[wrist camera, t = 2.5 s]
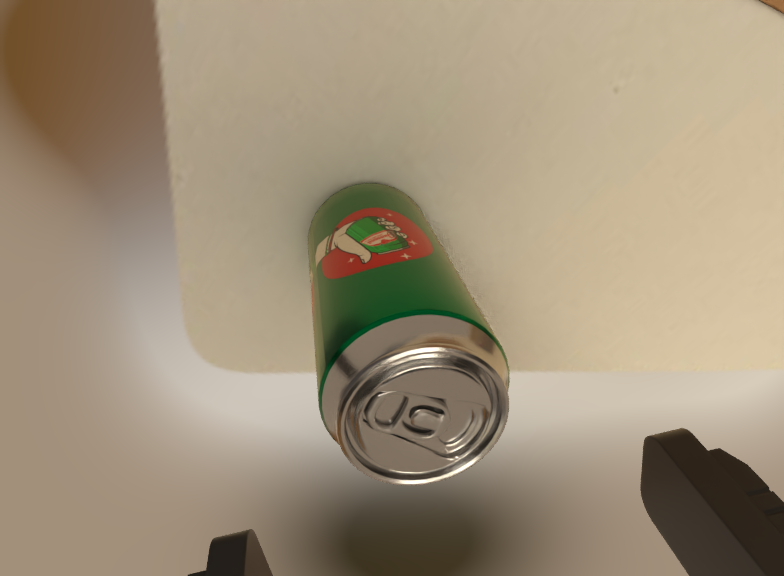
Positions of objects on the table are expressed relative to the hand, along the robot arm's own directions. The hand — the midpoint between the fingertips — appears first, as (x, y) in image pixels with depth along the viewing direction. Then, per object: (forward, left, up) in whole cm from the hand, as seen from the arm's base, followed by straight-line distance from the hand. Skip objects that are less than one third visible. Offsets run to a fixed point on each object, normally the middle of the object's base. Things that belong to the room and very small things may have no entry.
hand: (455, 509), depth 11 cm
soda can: (0, 0, -15) cm, 15 cm away
